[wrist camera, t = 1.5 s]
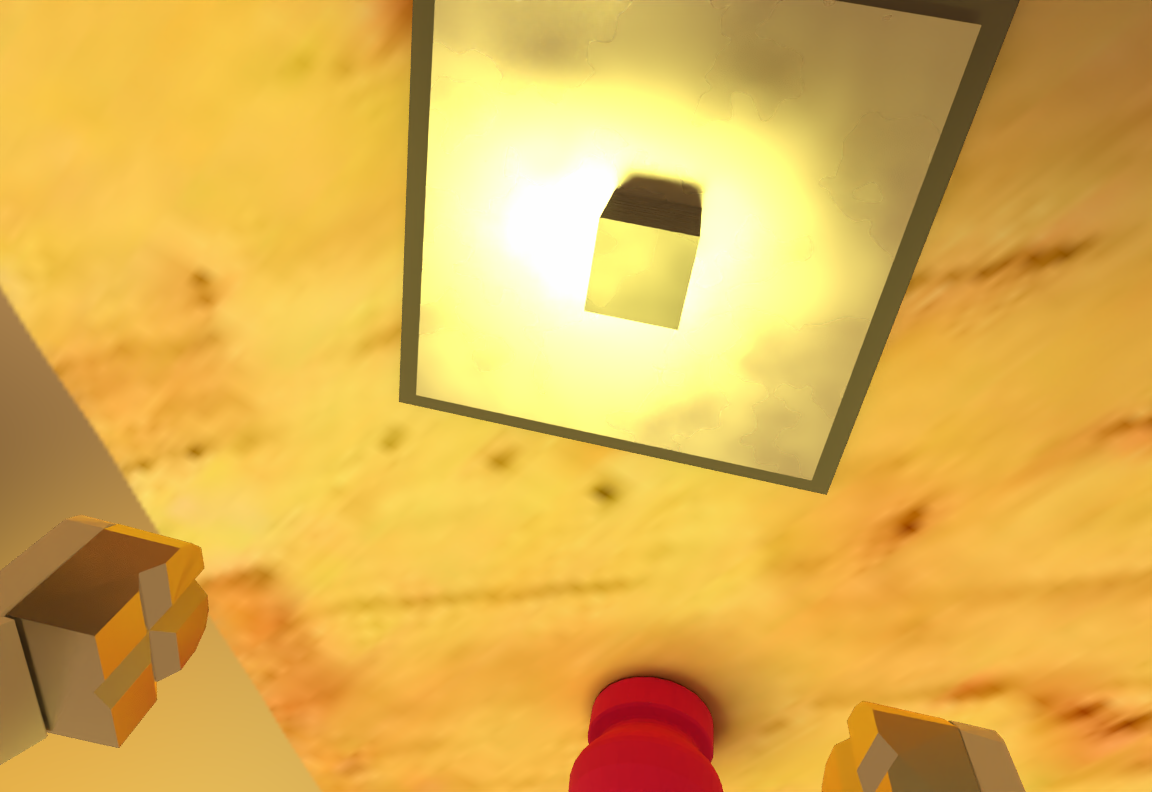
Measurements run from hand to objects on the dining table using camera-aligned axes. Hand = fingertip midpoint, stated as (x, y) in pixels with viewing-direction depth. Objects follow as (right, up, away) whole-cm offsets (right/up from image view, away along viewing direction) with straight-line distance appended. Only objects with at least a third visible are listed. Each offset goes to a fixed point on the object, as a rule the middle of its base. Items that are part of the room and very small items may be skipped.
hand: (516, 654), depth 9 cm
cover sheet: (+3, +9, +17) cm, 20 cm away
